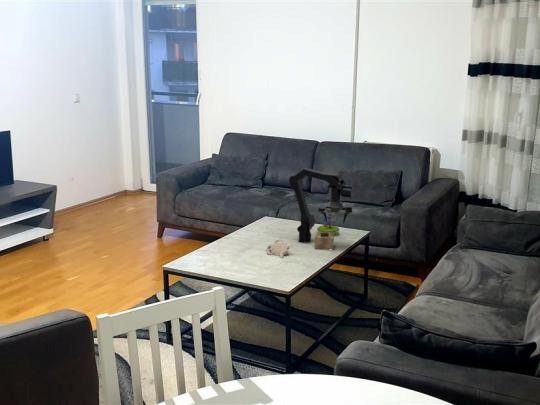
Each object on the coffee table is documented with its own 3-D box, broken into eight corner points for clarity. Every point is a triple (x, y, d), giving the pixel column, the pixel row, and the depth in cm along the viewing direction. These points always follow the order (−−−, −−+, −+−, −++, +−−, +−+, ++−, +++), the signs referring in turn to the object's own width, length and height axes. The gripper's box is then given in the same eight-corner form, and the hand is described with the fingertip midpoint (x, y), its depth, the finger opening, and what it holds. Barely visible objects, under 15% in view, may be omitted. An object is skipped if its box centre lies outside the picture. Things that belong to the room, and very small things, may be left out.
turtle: (293, 259, 334) (295, 241, 335) (289, 258, 325) (291, 240, 326) (266, 255, 339) (268, 237, 340) (261, 254, 330) (263, 236, 331)
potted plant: (313, 234, 367) (313, 210, 363) (322, 229, 377) (322, 205, 374) (334, 238, 360) (335, 213, 356) (342, 232, 371) (343, 208, 367)
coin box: (314, 249, 341) (315, 237, 339) (316, 243, 350) (316, 231, 349) (332, 249, 340) (333, 237, 338) (333, 244, 349) (333, 232, 347)
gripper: (317, 199, 333) (317, 226, 337) (352, 200, 330) (351, 228, 333) (319, 194, 344) (319, 221, 347) (353, 195, 340) (352, 222, 344)
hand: (335, 223), depth 343 cm, fingers open, 9 cm apart
